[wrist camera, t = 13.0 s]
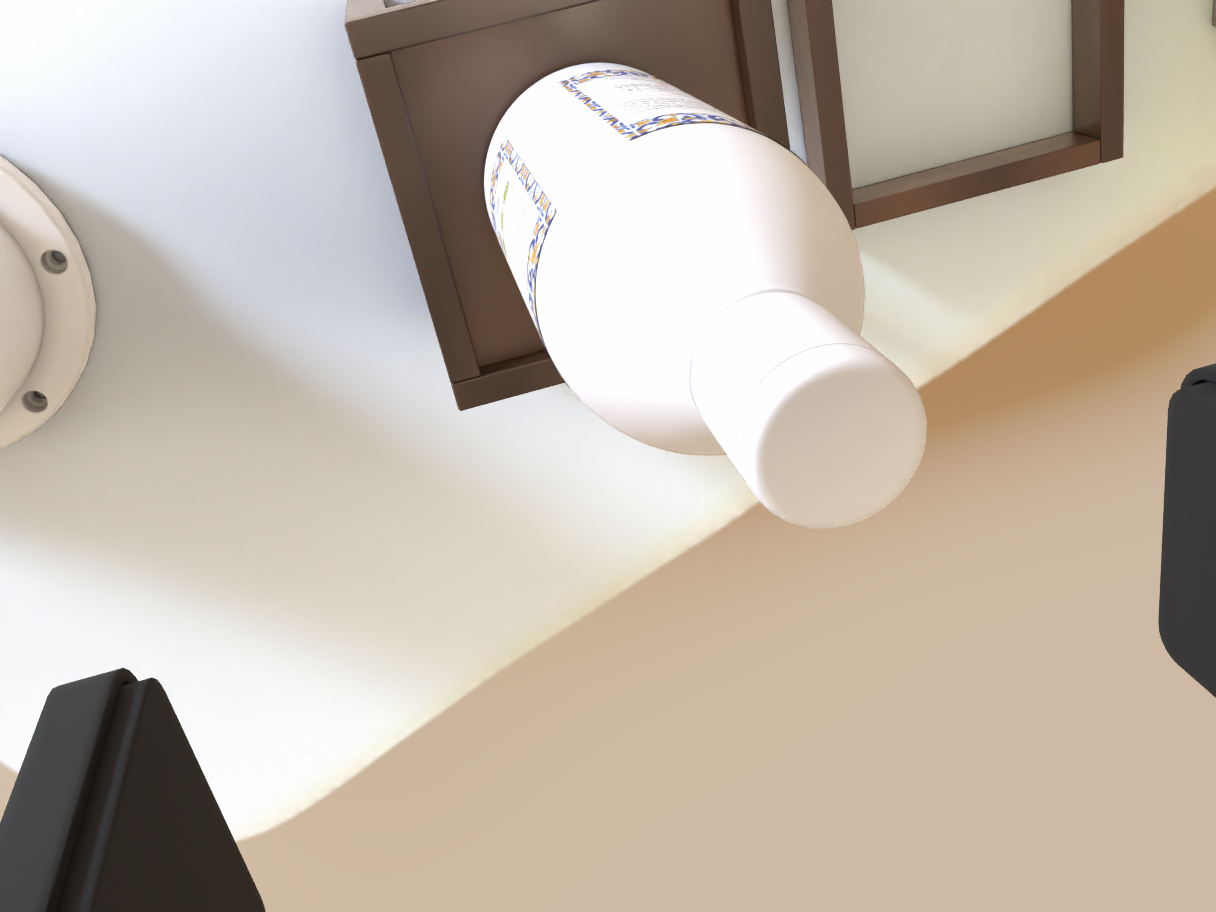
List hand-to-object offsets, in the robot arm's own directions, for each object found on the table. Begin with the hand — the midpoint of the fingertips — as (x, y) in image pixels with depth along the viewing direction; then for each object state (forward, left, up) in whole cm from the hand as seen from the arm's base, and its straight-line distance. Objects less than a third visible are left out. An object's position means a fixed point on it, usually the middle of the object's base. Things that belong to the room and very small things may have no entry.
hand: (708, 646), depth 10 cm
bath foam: (+4, -2, -27) cm, 27 cm away
